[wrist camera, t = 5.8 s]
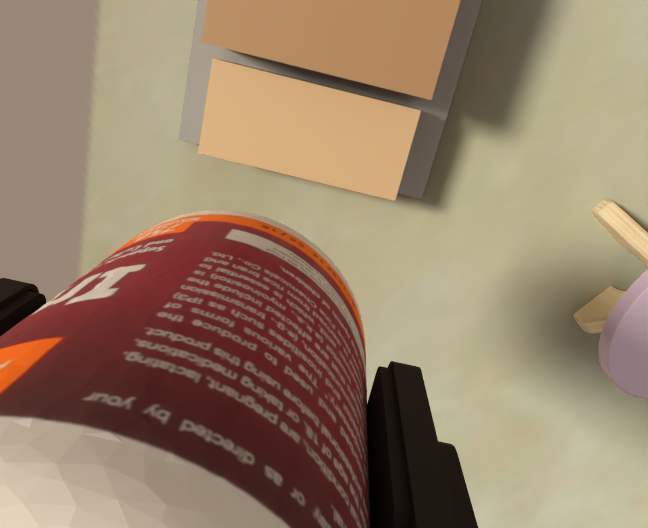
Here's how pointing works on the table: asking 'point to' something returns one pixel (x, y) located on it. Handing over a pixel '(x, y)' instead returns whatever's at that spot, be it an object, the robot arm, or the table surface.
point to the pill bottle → (190, 388)
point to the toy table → (621, 309)
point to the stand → (327, 87)
